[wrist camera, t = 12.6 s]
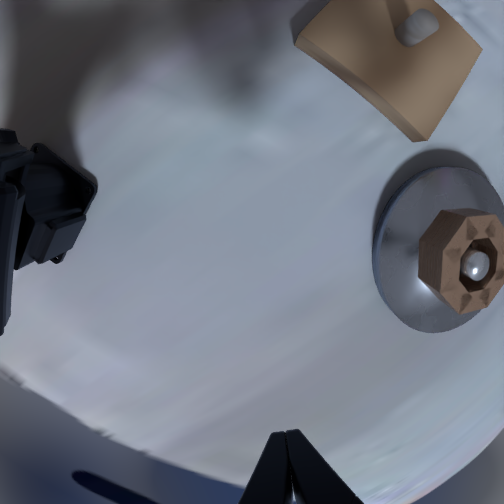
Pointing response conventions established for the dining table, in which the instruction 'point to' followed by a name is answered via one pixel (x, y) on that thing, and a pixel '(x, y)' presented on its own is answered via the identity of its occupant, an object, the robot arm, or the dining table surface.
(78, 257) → the dining table surface
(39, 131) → the dining table surface
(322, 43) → the stand
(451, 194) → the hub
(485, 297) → the octagonal wooden ring
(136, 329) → the dining table surface
